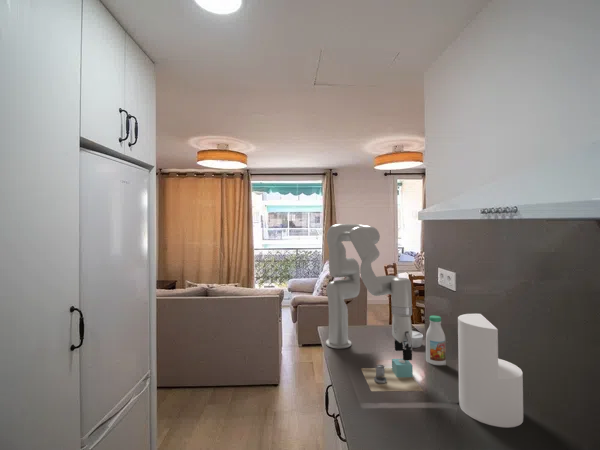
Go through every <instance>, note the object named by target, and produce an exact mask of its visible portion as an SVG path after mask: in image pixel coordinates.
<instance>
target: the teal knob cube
mask: <svg viewBox="0 0 600 450" xmlns="http://www.w3.org/2000/svg"><path fill="white" fill-rule="evenodd" d="M391 368H392V371H393V372H394V374H395V375H396V377H413V373H414V371H413V364H412V363H411V361H410V360H403V358H391ZM413 378H414V377H413Z"/></svg>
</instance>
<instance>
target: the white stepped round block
mask: <svg viewBox="0 0 600 450" xmlns="http://www.w3.org/2000/svg"><path fill="white" fill-rule="evenodd" d="M498 333H499V329H498V328H497V327H496V326H495V325H494V324H492V323H491V321H489V320H488V319H487V318H486V317H485V316H484V315H483V314H482V313H465V314H461V315H459V316H457V335H458V336H457V339H458V340H457V343H458V344H457V345H458V349H457V350H458V352H457V354H458V356H457V357H458V359H457V360H458V404H459V408H460V409H461V411H462V412H463V413H465V414H466V415H467V416H468V417H470V418H472V419H474V420H475V421H478V422H480V423H482V424H486V425H489V426H492V427H498V428H515V427H516V428H517V427H518V426H520V425H522V423H523V422H524V387H523V386H524V383H523V382H524V381H523V380H524V379H523V377H524V376H523V371H522V369H521V368H520V367H518V365H516V364H514V363H512V362H510V361H507V360H504V359H501V358H499V335H498Z"/></svg>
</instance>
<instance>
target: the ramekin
mask: <svg viewBox="0 0 600 450" xmlns="http://www.w3.org/2000/svg"><path fill="white" fill-rule="evenodd" d="M423 339H424V335H423V333H421V332H419V331H415V330H412V349H417V348H421V346H422V345H423ZM404 341H407V340H404ZM406 344H407V343H405V346H406Z"/></svg>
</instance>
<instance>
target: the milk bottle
mask: <svg viewBox="0 0 600 450" xmlns="http://www.w3.org/2000/svg"><path fill="white" fill-rule="evenodd" d="M428 319H429V326H428V328H427V330H426V332H425V333H426V335H425V361H426V362H427V363H428V364H431V365H433V366H447V365H446V364H447V363H446V362H447V359H446V358H447V355H446V354H447V353H446V350H447V349H446V348H447V347H446V345H447V344H446V334H445V333H444V329H443V327H442V325H441V324H442V317H441V316H440V315H430V316H429V318H428Z"/></svg>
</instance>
